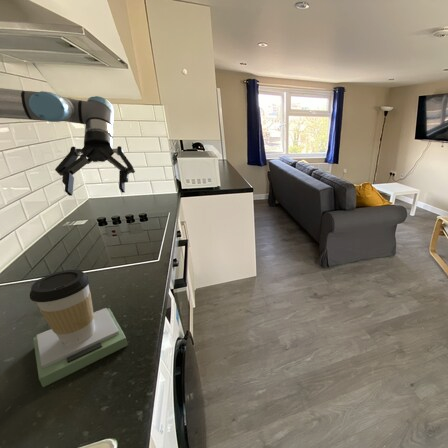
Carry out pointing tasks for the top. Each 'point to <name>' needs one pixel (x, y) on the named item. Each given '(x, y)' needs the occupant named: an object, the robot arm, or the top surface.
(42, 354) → the kitchen scale
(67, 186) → the robot arm
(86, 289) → the coffee cup
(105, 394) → the top surface
